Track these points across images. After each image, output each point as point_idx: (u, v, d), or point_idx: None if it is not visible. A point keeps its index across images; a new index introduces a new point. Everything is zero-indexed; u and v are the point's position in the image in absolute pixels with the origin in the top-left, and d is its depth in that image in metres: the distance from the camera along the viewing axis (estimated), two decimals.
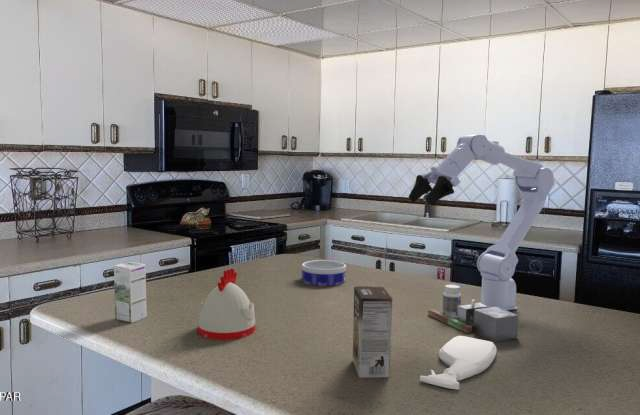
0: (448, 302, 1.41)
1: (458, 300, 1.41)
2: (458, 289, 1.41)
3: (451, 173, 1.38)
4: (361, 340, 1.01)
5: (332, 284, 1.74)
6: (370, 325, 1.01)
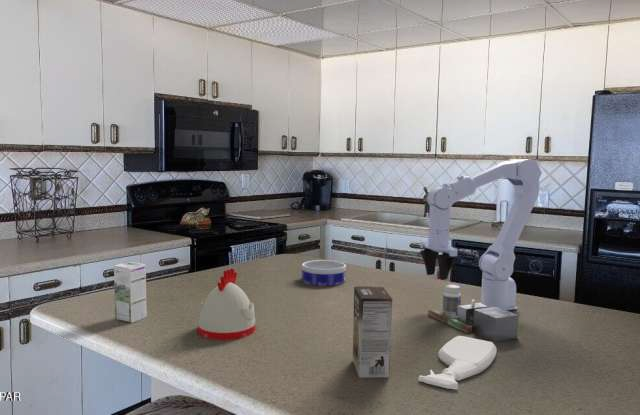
0: (448, 302, 1.41)
1: (458, 300, 1.41)
2: (458, 289, 1.41)
3: (444, 240, 1.45)
4: (361, 340, 1.01)
5: (332, 284, 1.74)
6: (370, 325, 1.01)
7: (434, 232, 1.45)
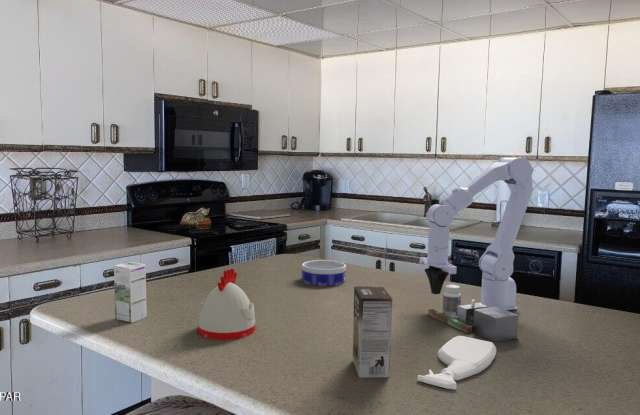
0: (448, 302, 1.41)
1: (458, 300, 1.41)
2: (458, 289, 1.41)
3: (443, 258, 1.46)
4: (361, 340, 1.01)
5: (332, 284, 1.74)
6: (370, 325, 1.01)
7: (433, 249, 1.46)
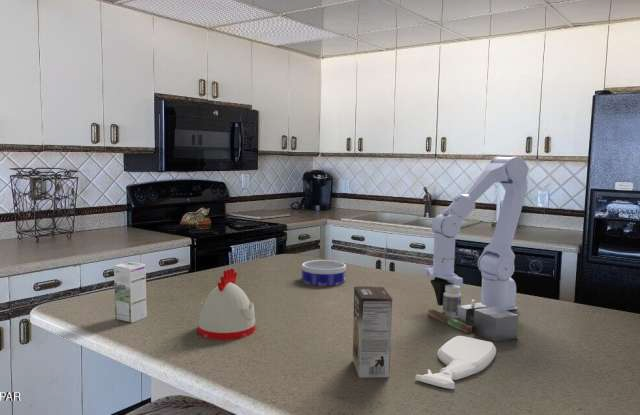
0: (448, 302, 1.41)
1: (458, 300, 1.41)
2: (458, 289, 1.41)
3: (449, 269, 1.43)
4: (361, 340, 1.01)
5: (332, 284, 1.74)
6: (370, 325, 1.01)
7: (439, 260, 1.43)
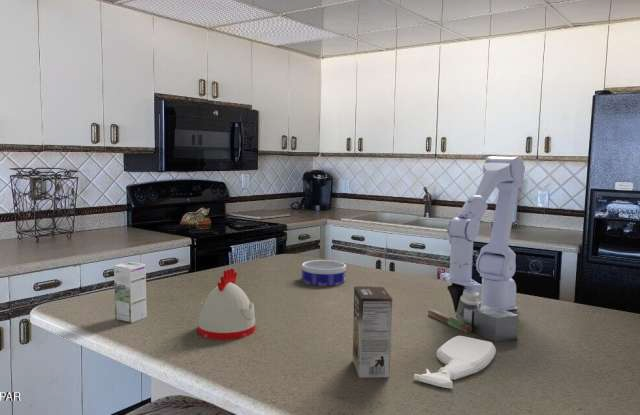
0: None
1: None
2: (477, 297, 1.34)
3: (467, 274, 1.37)
4: (361, 340, 1.01)
5: (332, 284, 1.74)
6: (370, 325, 1.01)
7: (456, 265, 1.37)
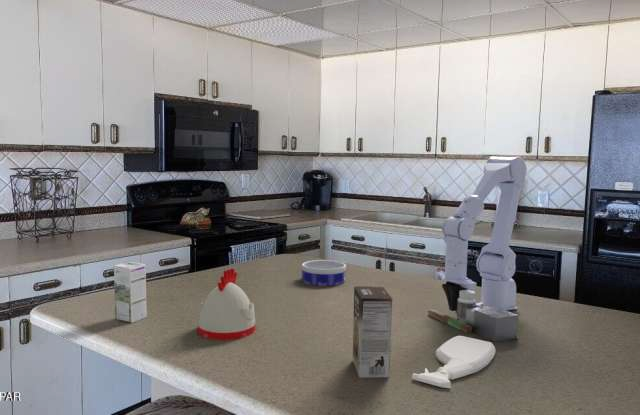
0: (462, 308, 1.36)
1: (473, 306, 1.35)
2: (473, 295, 1.36)
3: (462, 273, 1.39)
4: (361, 340, 1.01)
5: (332, 284, 1.74)
6: (370, 325, 1.01)
7: (451, 264, 1.39)
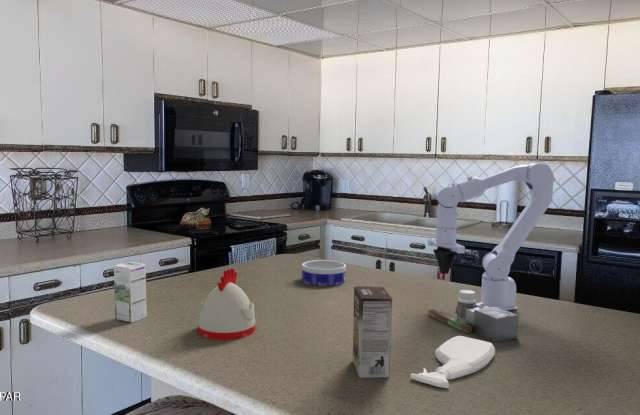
0: (462, 308, 1.36)
1: (473, 306, 1.35)
2: (473, 295, 1.36)
3: (451, 238, 1.50)
4: (361, 340, 1.01)
5: (332, 284, 1.74)
6: (370, 325, 1.01)
7: (442, 230, 1.50)
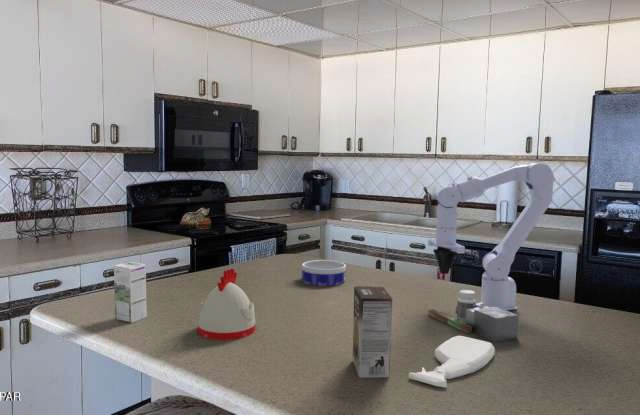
0: (462, 308, 1.36)
1: (473, 306, 1.35)
2: (473, 295, 1.36)
3: (451, 238, 1.50)
4: (361, 340, 1.01)
5: (332, 284, 1.74)
6: (370, 325, 1.01)
7: (442, 230, 1.50)
